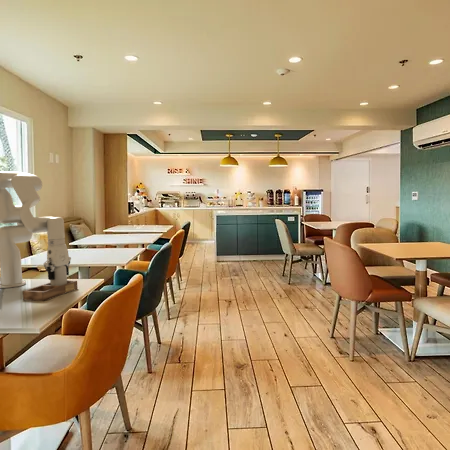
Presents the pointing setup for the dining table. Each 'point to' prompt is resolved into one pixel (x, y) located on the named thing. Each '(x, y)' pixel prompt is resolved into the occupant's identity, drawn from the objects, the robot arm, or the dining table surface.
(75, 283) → the tray
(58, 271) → the can
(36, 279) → the dining table surface
